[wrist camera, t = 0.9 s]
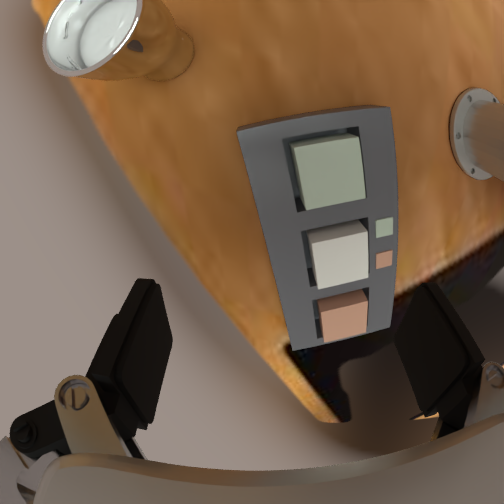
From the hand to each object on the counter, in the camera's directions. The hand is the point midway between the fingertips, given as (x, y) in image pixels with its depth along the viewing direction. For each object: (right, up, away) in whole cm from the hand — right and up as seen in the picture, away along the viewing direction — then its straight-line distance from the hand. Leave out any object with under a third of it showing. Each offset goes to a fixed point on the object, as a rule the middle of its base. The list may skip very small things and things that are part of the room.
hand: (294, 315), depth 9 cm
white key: (+7, +3, +19) cm, 21 cm away
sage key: (+5, +10, +15) cm, 19 cm away
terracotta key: (+10, -5, +24) cm, 26 cm away
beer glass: (-10, +22, +12) cm, 27 cm away
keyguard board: (+7, +4, +22) cm, 24 cm away
